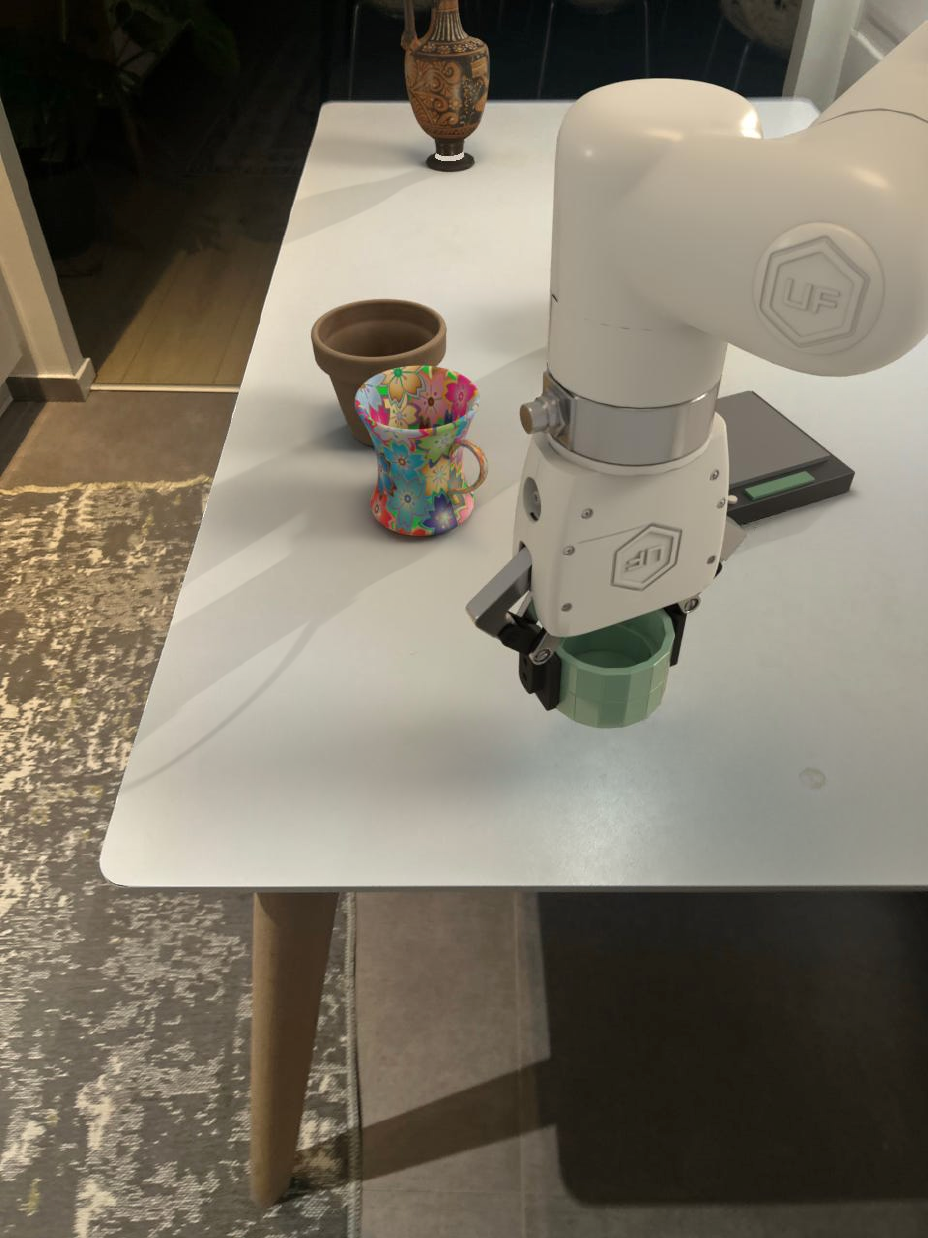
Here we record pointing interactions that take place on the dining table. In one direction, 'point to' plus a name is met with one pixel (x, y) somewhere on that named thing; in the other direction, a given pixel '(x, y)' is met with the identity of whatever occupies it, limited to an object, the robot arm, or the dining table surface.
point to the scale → (774, 461)
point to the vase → (445, 81)
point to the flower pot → (374, 346)
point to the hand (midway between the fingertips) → (600, 669)
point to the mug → (421, 447)
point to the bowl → (616, 671)
